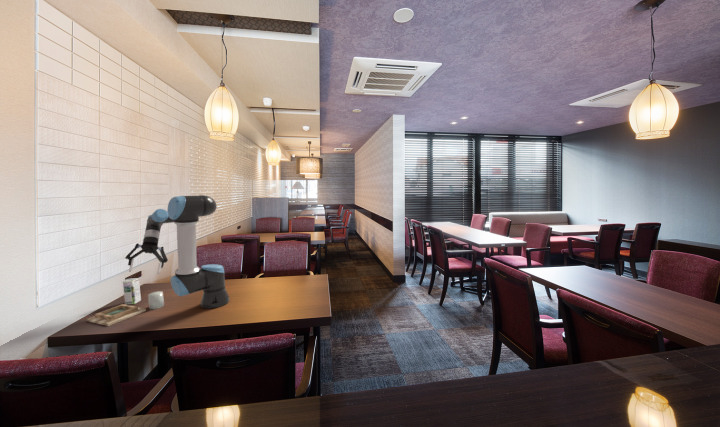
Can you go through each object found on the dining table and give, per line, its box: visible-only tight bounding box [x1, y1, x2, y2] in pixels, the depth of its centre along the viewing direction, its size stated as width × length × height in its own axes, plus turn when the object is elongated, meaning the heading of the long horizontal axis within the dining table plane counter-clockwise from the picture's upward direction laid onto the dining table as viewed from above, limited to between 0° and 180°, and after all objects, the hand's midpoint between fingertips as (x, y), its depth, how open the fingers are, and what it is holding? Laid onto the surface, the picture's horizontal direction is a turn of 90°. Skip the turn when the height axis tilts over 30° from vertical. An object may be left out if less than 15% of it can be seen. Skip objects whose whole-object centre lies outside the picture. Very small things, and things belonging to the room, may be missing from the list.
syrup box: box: [122, 277, 142, 305], centre depth 171 cm, size 6×6×14 cm
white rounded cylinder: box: [147, 290, 165, 310], centre depth 164 cm, size 7×7×8 cm
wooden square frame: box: [86, 303, 147, 327], centre depth 153 cm, size 18×18×3 cm
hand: (144, 272), depth 162 cm, fingers open, 13 cm apart
